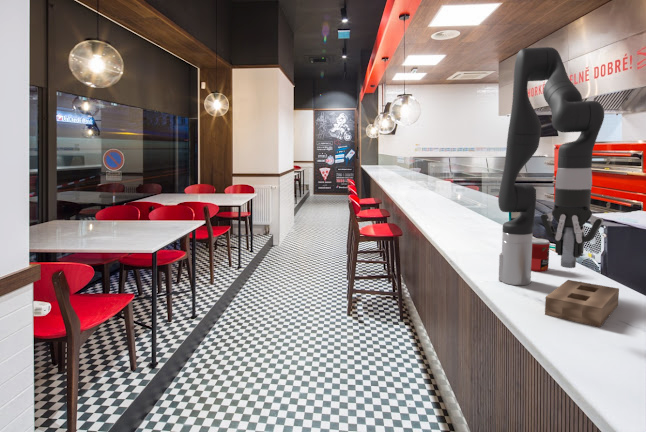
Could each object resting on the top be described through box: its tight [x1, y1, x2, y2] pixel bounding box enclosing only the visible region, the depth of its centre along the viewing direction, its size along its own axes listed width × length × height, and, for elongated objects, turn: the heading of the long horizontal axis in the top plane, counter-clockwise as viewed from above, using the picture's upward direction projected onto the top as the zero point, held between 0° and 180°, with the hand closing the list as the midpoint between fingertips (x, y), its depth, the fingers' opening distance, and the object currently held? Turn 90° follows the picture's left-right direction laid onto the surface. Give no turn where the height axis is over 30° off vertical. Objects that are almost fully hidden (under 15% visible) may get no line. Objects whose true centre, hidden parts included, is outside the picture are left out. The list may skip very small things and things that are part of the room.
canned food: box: [531, 237, 551, 273], centre depth 157 cm, size 8×8×11 cm
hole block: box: [544, 279, 620, 328], centre depth 117 cm, size 13×20×5 cm, turn 135°
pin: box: [560, 227, 577, 269], centre depth 104 cm, size 3×3×10 cm
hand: (568, 255), depth 104 cm, fingers closed on pin, 3 cm apart
